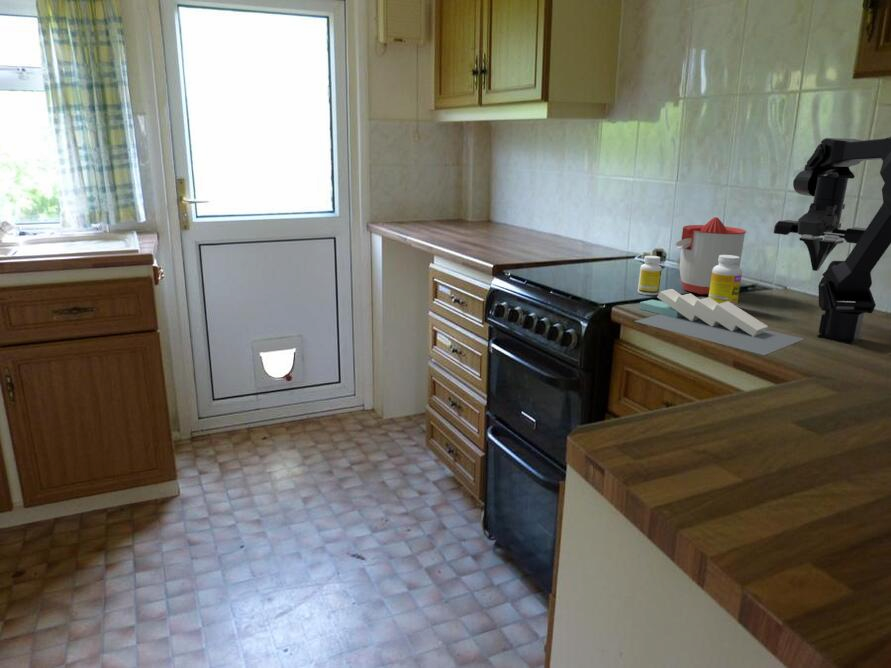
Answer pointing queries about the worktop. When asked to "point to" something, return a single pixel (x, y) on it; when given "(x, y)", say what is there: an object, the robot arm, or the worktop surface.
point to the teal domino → (659, 308)
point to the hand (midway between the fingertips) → (815, 270)
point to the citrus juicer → (706, 252)
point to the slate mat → (723, 334)
